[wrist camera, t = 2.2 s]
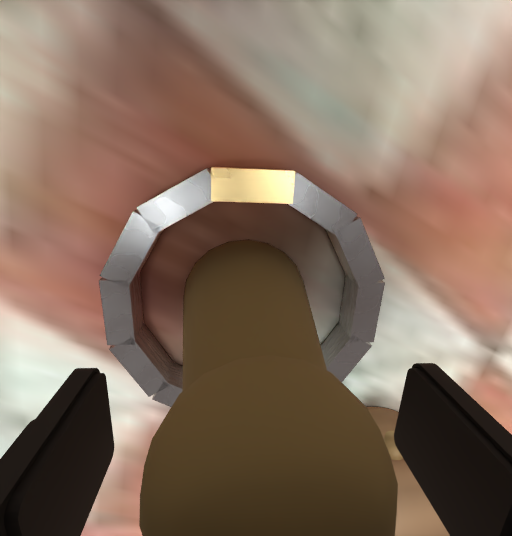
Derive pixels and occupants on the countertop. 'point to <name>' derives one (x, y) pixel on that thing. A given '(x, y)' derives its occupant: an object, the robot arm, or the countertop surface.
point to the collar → (235, 190)
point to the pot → (407, 486)
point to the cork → (262, 417)
